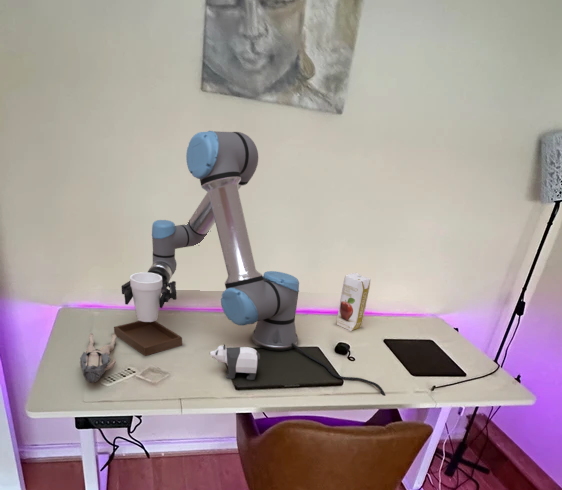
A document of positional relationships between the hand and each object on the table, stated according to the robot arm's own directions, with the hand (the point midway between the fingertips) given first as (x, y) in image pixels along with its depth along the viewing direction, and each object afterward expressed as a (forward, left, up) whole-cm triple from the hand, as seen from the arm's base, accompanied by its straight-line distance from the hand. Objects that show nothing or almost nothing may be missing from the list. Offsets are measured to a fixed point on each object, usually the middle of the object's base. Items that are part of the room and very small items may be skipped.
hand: (143, 302), depth 155 cm
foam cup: (+3, -3, -7) cm, 8 cm away
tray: (+3, -3, -15) cm, 15 cm away
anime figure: (-3, +18, -15) cm, 23 cm away
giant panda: (-30, -12, -15) cm, 35 cm away
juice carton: (-26, -71, -15) cm, 77 cm away
